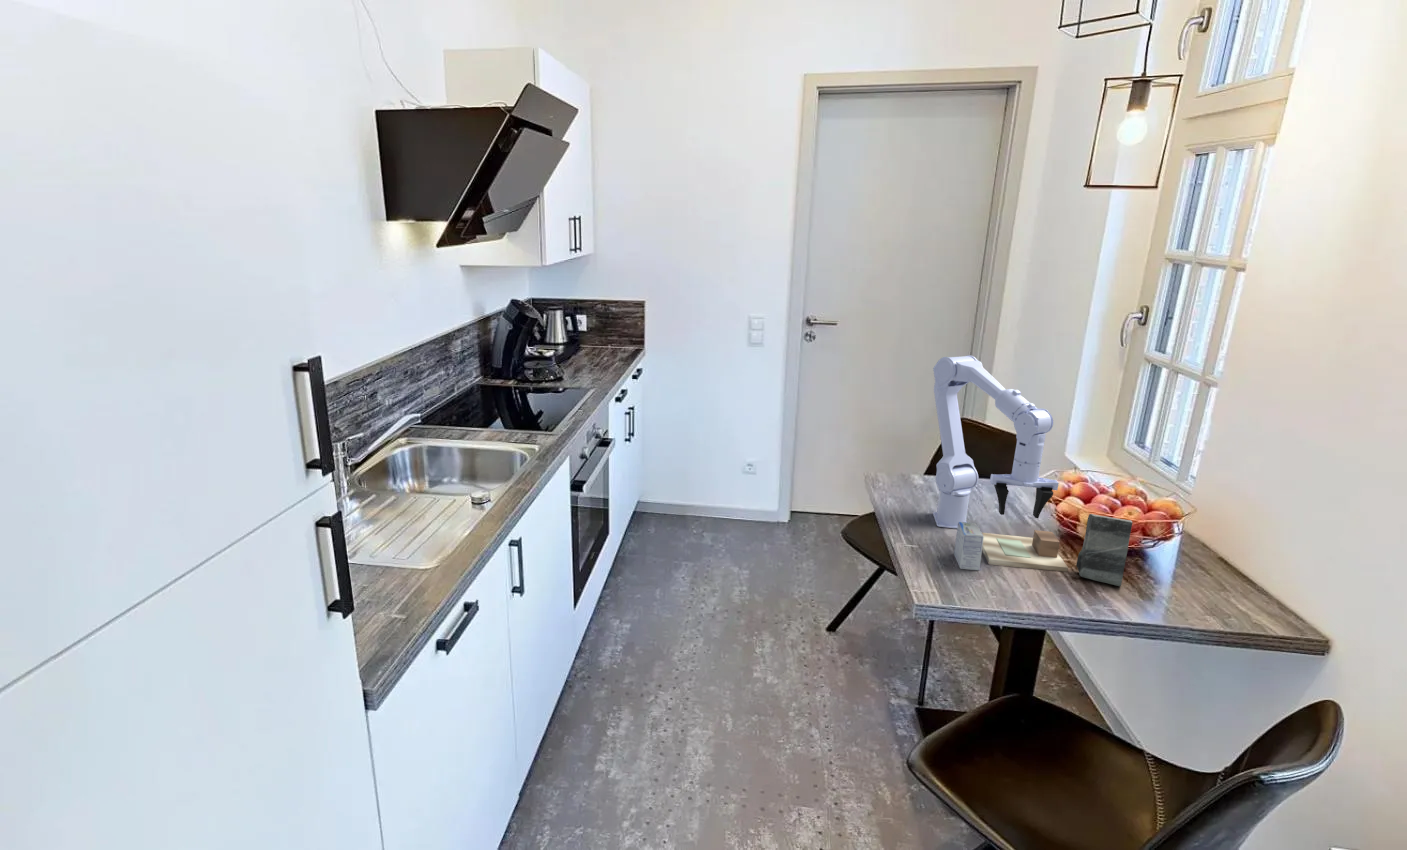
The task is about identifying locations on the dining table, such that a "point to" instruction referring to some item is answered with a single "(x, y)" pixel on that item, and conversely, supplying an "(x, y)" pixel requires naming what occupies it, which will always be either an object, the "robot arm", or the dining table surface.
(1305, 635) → the dining table surface
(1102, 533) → the stone block
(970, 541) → the medicine box
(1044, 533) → the walnut block
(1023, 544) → the base board
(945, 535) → the dining table surface
